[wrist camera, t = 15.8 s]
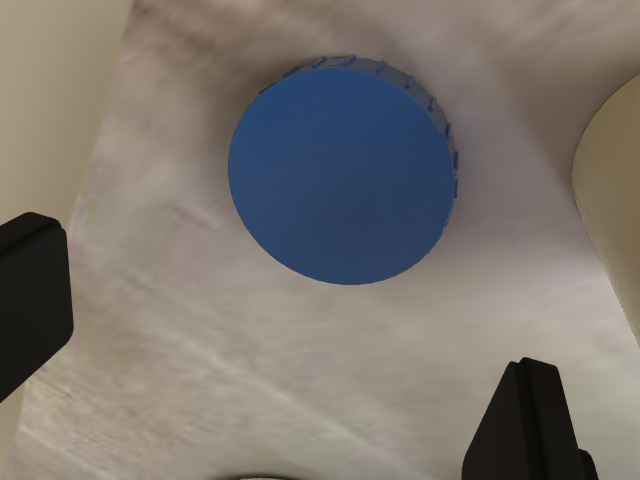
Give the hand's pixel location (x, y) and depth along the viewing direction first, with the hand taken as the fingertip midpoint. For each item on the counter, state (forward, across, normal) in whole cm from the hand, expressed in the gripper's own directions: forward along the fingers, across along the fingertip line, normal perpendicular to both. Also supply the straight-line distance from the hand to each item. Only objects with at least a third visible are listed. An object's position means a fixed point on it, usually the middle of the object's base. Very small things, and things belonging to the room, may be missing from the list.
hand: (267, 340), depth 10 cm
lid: (+6, 0, -1) cm, 6 cm away
